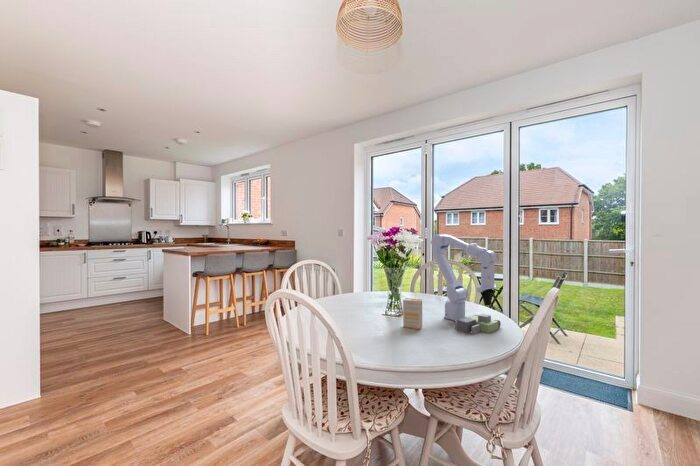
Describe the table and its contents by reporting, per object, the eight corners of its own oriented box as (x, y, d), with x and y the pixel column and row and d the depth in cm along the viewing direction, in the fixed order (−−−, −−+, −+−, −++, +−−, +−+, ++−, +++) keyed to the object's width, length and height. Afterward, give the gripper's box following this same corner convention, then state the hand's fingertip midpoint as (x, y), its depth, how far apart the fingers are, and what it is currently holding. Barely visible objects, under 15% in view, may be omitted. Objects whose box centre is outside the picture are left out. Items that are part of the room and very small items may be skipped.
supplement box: (422, 326, 144) (422, 299, 144) (420, 330, 140) (420, 301, 140) (405, 324, 148) (405, 297, 148) (402, 327, 144) (402, 299, 143)
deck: (455, 328, 142) (455, 315, 141) (475, 321, 152) (475, 309, 152) (480, 336, 132) (481, 322, 132) (501, 327, 143) (501, 315, 142)
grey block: (456, 330, 139) (457, 319, 139) (465, 327, 144) (465, 316, 143) (466, 333, 135) (467, 322, 135) (475, 330, 140) (475, 319, 139)
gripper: (487, 279, 136) (487, 309, 137) (503, 275, 145) (503, 304, 146) (473, 277, 142) (472, 306, 142) (489, 273, 151) (488, 301, 151)
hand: (487, 305), depth 144 cm, fingers closed
